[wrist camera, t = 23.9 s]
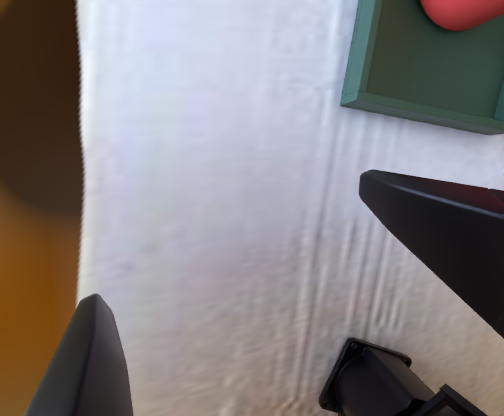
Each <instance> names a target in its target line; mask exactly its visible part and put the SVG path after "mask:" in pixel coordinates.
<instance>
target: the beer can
mask: <svg viewBox="0 0 504 416" xmlns="http://www.w3.org/2000/svg"><path fill="white" fill-rule="evenodd" d="M419 1H420V3H421V5H422V7H423V10H424V12H425V13H426V15H427V16H428V17H429V18H430V19H431V20H432V21H433V23H435V24H437V25H438V26H440V27H442V28H444V29H446V30H453V31H463V30H467V29H471V28H474V27H476V26H478V25H480V24H482V23H484V22H487V21H489V20H491V19H493V18H495V17H497V16H499V15H501V14H504V0H419Z"/></svg>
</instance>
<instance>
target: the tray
mask: <svg viewBox="0 0 504 416" xmlns="http://www.w3.org/2000/svg"><path fill="white" fill-rule="evenodd" d="M340 106H344V107H349V108H354V109H359V110H364V111H369V112H374V113H379V114H384V115H390V116H395V117H400V118H405V119H410V120H415V121H420V122H425V123H430V124H435V125H440V126H445V127H450V128H455V129H460V130H465V131H470V132H475V133H480V134H485V135H498V134H504V14H501V15H499V16H497V17H495V18H493V19H491V20H489V21H487V22H484V23H482V24H480V25H478V26H476V27H474V28H471V29H467V30H463V31H453V30H446V29H444V28H442V27H440V26H438V25H437V24H435V23H433V21H432V20H431V19H430V18H429V17H428V16H427V15H426V13H425V12H424V10H423V7H422V5H421V3H420V1H419V0H359V3H358V9H357V14H356V20H355V25H354V31H353V37H352V42H351V48H350V53H349V59H348V64H347V70H346V76H345V81H344V87H343V92H342V98H341V104H340Z"/></svg>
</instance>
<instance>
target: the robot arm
mask: <svg viewBox="0 0 504 416" xmlns="http://www.w3.org/2000/svg"><path fill="white" fill-rule="evenodd" d="M359 196H360V198H361V199H362V201H363V202H364V203H365V204H366V205H367V206H368V208H369V209H370V210H371V211H372V212H373V213H374V214H375V216H376V217H377V218H378V219H379V220H380V221H381V223H382V224H383V225H384V226H385V227H386V228H387V229H388V230H389V231H390V232H391V233H392V234H393V235H394V236H395V237H396V238H397V239H398V240H399V241H400V242H401V243H403V244H404V245H405V246H406V247H407V248H408V249H409V250H410V251H411V252H412V253H413V254H414V255H415V256H416V257H417V258H419V259H420V260H421V261H422V262H423V263H424V264H425V265H426V266H427V267H428V268H429V269H430V270H431V271H432V272H433V273H435V274H436V275H437V276H438V277H439V278H440V279H441V280H442V281H443V282H444V283H445V284H446V285H447V286H448V287H449V288H451V289H452V290H453V291H454V292H455V293H456V294H457V295H458V296H459V297H460V298H461V299H462V300H463V301H464V302H465V303H467V304H468V305H469V306H470V307H471V308H472V309H473V310H474V311H475V312H476V313H477V314H478V315H479V316H480V317H481V318H483V319H484V320H485V321H486V322H487V323H488V324H489V325H490V326H492V328H493V329H494V330H495V331H496V332H497V333H498V334H499V335H500V336H502V337H503V338H504V191H502V190H496V189H488V188H483V187H477V186H471V185H465V184H459V183H453V182H446V181H440V180H434V179H428V178H422V177H416V176H410V175H404V174H397V173H391V172H385V171H379V170H369V171H366V172H364V173H362V174H361V176H360V183H359ZM353 343H354V344H353ZM352 344H353V345H352ZM351 345H352V346H351ZM411 363H412V361H411V359H410V358H409V357H408V356H407V355H404V354H401V353H398V352H395V351H392V350H389V349H386V348H383V347H380V346H377V345H374V344H371V343H368V342H365V341H361V340H358V339H355V338H349V339H348V340H347V341H346V343H345V345H344V347H343V349H342V351H341V354H340V356H339V358H338V360H337V362H336V364H335V366H334V368H333V370H332V373H331V375H330V377H329V379H328V381H327V383H326V385H325V387H324V390H323V392H322V394H321V396H320V398H319V404H320V406H321V408H322V409H325V410H329V411H333V412H337V413H338V416H487V415H486V414H485V413H484V412H482V411H481V410H480V409H478V408H477V407H476V406H474V405H473V404H472V403H470V402H469V401H468V400H467V399H465V398H464V397H463V396H461V395H460V394H459V393H457V392H456V391H455V390H453V389H452V388H451V387H450V386H448V385H447V384H444V385H443V386H442V387H441V388H440V391H439V392H437V393H436V394H435V393H434V392H433V391H432V390H431V389H430V388H429V387H428V386H427V385H426V384H425V383H424V382H423V381H422V380H421V379H420V378H419V377H418V376H417V375H416V374H415V373H414V372H413V371H412V370H411V369H409V367H410V365H411ZM325 401H326V402H325ZM324 402H325V403H324ZM24 416H133V408H132V400H131V393H130V385H129V377H128V370H127V364H126V360H125V356H124V352H123V349H122V345H121V341H120V337H119V333H118V330H117V326H116V322H115V318H114V315H113V313H112V311H111V309H110V308H109V306H108V305H107V304H106V303H105V301H104V300H103V299H102V298H101V296H100V295H98V294H92V295H90V296H88V297H86V298H83V299H82V300H81V301H80V303H79V305H78V307H77V309H76V311H75V313H74V315H73V317H72V319H71V321H70V323H69V325H68V327H67V329H66V331H65V333H64V335H63V337H62V339H61V341H60V343H59V345H58V347H57V349H56V351H55V353H54V355H53V358H52V359H51V361H50V363H49V365H48V368H47V369H46V372H45V374H44V376H43V378H42V380H41V382H40V384H39V386H38V388H37V390H36V392H35V394H34V396H33V398H32V400H31V402H30V404H29V406H28V408H27V410H26V412H25V414H24Z"/></svg>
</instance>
